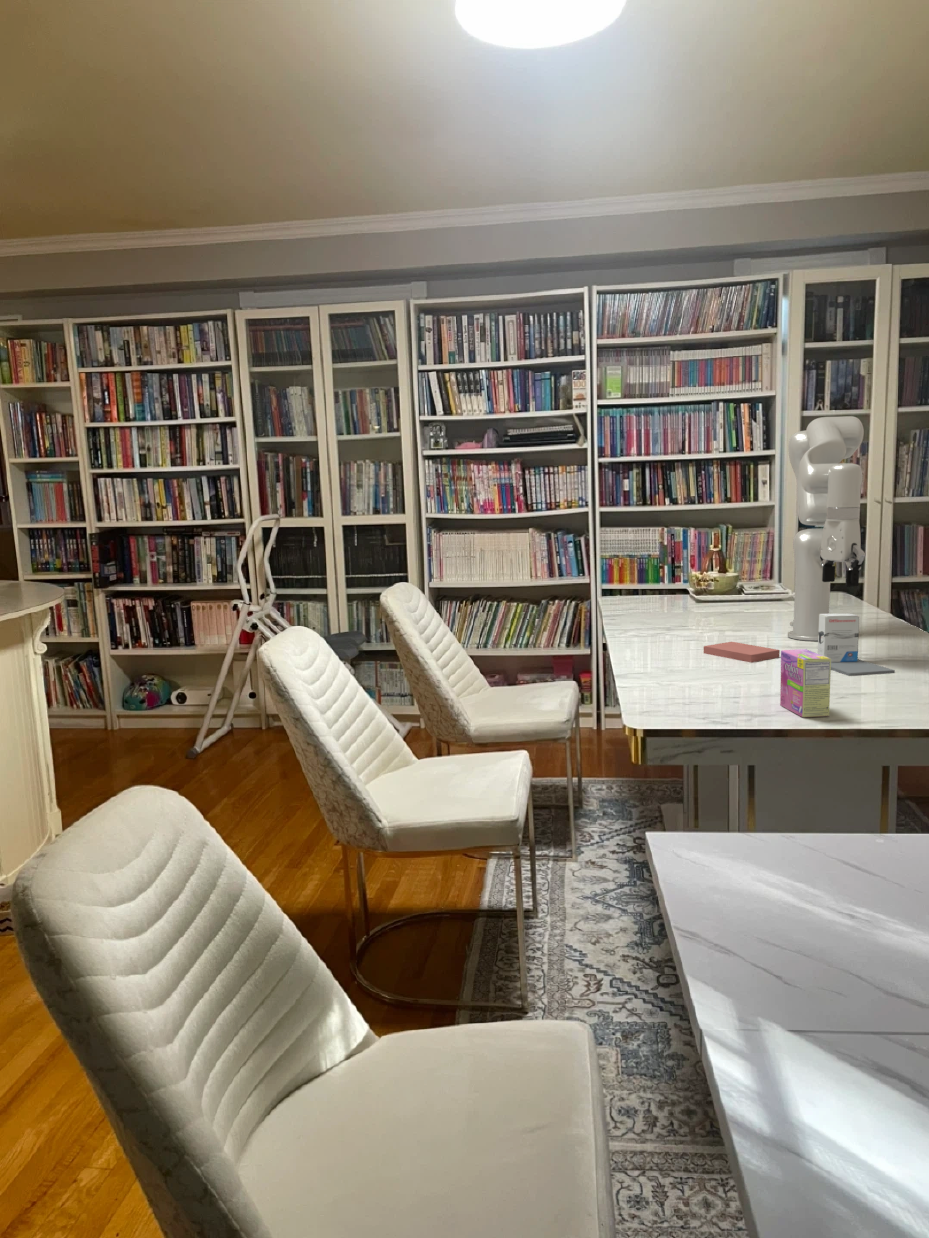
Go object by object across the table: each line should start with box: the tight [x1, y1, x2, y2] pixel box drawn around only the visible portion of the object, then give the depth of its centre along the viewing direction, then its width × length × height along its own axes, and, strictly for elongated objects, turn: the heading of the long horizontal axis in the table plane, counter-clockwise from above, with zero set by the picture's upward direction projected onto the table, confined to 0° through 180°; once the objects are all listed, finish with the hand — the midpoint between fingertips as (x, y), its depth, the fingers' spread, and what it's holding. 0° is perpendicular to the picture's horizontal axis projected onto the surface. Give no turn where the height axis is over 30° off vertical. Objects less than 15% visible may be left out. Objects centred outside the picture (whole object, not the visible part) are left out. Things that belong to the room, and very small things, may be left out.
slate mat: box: [831, 658, 896, 677], centre depth 223 cm, size 18×12×1 cm, turn 11°
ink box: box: [817, 612, 860, 662], centre depth 227 cm, size 8×5×12 cm, turn 89°
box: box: [779, 648, 832, 718], centre depth 181 cm, size 10×6×12 cm, turn 5°
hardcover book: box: [703, 641, 781, 664], centre depth 240 cm, size 16×11×2 cm
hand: (839, 583), depth 225 cm, fingers open, 9 cm apart
